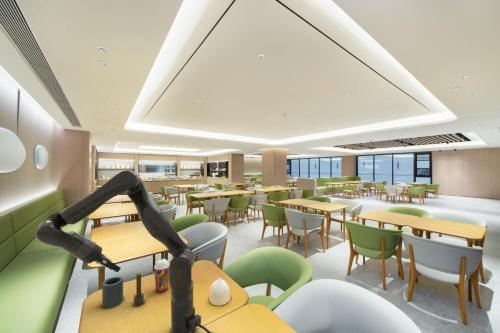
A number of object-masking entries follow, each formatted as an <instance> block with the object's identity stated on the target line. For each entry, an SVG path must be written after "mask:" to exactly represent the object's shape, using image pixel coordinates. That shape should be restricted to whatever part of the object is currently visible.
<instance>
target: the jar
mask: <svg viewBox="0 0 500 333" xmlns="http://www.w3.org/2000/svg"><path fill="white" fill-rule="evenodd" d="M101 290H102V291H101V294H102V295H101V302H102V303H101V305H102V308H104V309H111V308H114V307H117V306H119V305H120V304H122V303H123V301H124V277H122V276H112V277H109V278H107V279H105V280H104V281H103V282H102V283H101Z"/></svg>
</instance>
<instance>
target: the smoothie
mask: <svg viewBox="0 0 500 333" xmlns="http://www.w3.org/2000/svg"><path fill="white" fill-rule="evenodd" d="M169 264H170V261H169V260H168V259H166V258H164V254H161V258H159V259H158V260H157V261H156V263H155V264H154V267H153V268H154V269H153V270H154V282H155V283H154V284H155V291H156V292H157V293H165V292H166V291H167V290H168V288H169V287H170V284H169Z"/></svg>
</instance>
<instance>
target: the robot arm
mask: <svg viewBox="0 0 500 333" xmlns="http://www.w3.org/2000/svg"><path fill="white" fill-rule="evenodd" d="M122 194H125V195H126V196H127V197H128V198H129V199H130V201H131V203H133V205H134V207H135V209H136V212H137V215H138V217H139V220H140V222H141V224H142V225H143V227H144V229H145V230H146V231H147V232H148V234H149V235H150V236H151V237H152V238H153V239H155V240H156V241H158V242H159V243H161V244H162V245H164V246H165V247H166V249H167V251H168V252H169V253H170V255H171V257H172V258H171V259H170V261H169V263H170V264H169V288H170V333H193V332H194V331H195V330H196V329H197V327H198V328H201V329H202V330H203V331H205V332H206V333H213V332H212V331H210V330H209V329H208V328H207V327H206V326H204V325H202V316H201V315H199V314H196V307H195V306H194V287H195V286H194V280H193V279H192V276H193V275H192V269H193V267H194V265H195V262H196V261H195V260H196V256H195V254H194V252H193V251H192V249H191V248H190V247H189V245H187V244H186V242H185V241H184V240H183V239H182V238H181V236H180V235H179V233H178V232H177V230H176V229H175V227H174V226H173V224H172V223H171V221H170V220H169V218H168V216H167V215H166V214H165V212H164V211H163V209H162V208H161V207H160V205H159V204H158V203H157V201H155V199H154V198H153V197H152V196H151V195H150V193H149V191H148V189H147V188H146V186H145V184H144V182H143V179H142V178H141V176H140V175H139V174H138V173H137V172H134V171H133V170H129V169H124V170H121V171H119V172H117V173H116V174H115V175H113V177H111V178H110V179H108V180H107V181H106V182H105V183H104V184H102V185H101V186H100V187H98V188H96V189H95V190H94V191H92V192H91V193H89V194H88V195H86V196H84V197H82V198H81V199H78V200H77V201H75V202H74V203H72V204H71V205H70V206H67V207H66V208H64V209H62V210H59V211H57V212H55V213H52V214H50V215H48V216H46V217H45V218H43V219H42V220H41V221H40V222H39V225H38V226H37V228H36V231H35V234H34V235H35V238H36V239H37V240H38V241H39V242H40V243H42V244H44V245H47V246H51V247H55V248H60V249H62V250H63V251H65V252H66V253H69V254H70V255H72V257H74V258H76V259H78V260H80V261H81V262H84V263H85V264H93V263H94V262H95V263H96V264H98V265H99V266H102V267H103V268H107V269H108V270H110V271H113V272H116V273H119V272H120V270H121V269H122V267H120V265H117V264H116V263H115V262H113V261H112V259H111V258H109V257H107V255H105V254H104V253H102V252H103V247H102V246H101V245H98V244H97V243H96V242H93V241H92V240H91V239H89V238H86V237H84V236H83V235H82V234H79V233H78V232H77V231H73V230H70V231H68V232H67V231H64V229H63V228H64V227H66V226H68V225H76V224H79V223H80V222H81V221H82V220H84V219H86V218H88V217H89V216H90V215H92V214H93V213H95V212H96V211H98V210H99V209H100V208H101V207H102V206H104V204H106V203H107V202H109V201H110V200H112V199H113V198H115V197H118V196H119V195H122Z"/></svg>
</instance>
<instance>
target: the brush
mask: <svg viewBox="0 0 500 333" xmlns="http://www.w3.org/2000/svg"><path fill="white" fill-rule="evenodd" d="M135 276H136V278H135V280H136V281H135V282H136V284H135V288H136V289H135V290H136V292H135V293H136V294H134V296H133V307H140V306H142V305H143V304H144V303H145V293H143V292H142V273H141V272H139V273H136V275H135Z"/></svg>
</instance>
